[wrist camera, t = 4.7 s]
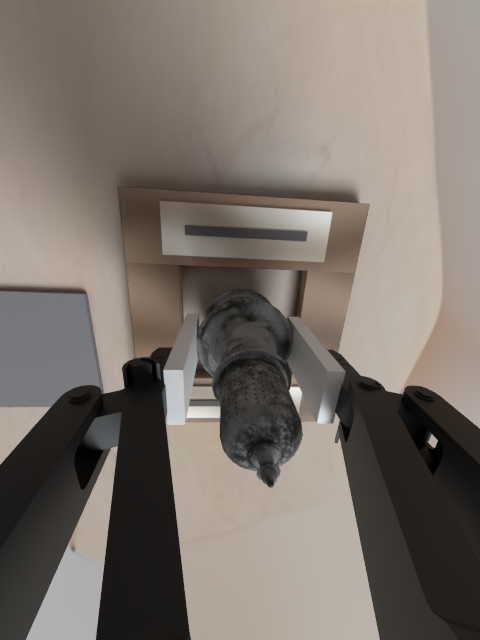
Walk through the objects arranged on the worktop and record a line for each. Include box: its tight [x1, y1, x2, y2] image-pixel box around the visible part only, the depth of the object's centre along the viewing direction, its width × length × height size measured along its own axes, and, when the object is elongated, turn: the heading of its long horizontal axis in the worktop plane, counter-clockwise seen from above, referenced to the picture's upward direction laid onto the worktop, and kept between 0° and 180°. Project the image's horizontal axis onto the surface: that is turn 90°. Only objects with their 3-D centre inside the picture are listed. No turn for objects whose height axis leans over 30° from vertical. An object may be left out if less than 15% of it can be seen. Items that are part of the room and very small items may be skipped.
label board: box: [118, 187, 370, 422], centre depth 18 cm, size 18×16×2 cm
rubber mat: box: [0, 290, 104, 407], centre depth 19 cm, size 10×10×1 cm
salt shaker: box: [196, 289, 303, 488], centre depth 12 cm, size 6×6×12 cm
